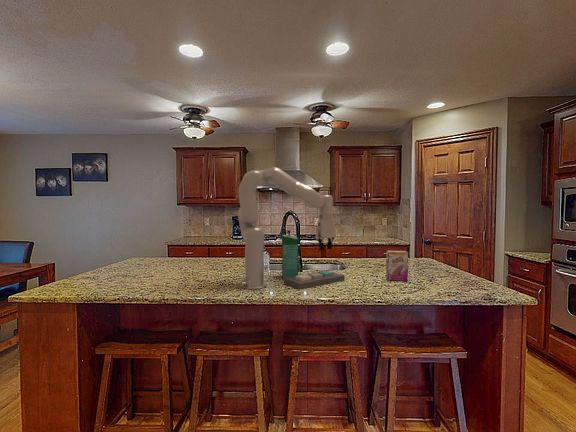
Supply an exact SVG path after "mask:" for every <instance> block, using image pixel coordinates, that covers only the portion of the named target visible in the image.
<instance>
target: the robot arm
mask: <svg viewBox="0 0 576 432" xmlns="http://www.w3.org/2000/svg"><path fill="white" fill-rule="evenodd" d="M269 185H275V186H276V187H277V188H279V189H281V190H282V191H284V192H285V193H286V194H288V195H291V196H293V197H296V198H299V199H301V200H303V201H304V202H303V203H304V205H305V207H307V208H309V209H318V216H317V218H318V221H317V226H316V235H315V236H314V238H315V239H316V241H317V243H318V245H319V246H318V249H319V251H325V246H324V245H325V243H324V240H325V239H327V243H326V244H327V245H326V248H327V250H332V249H333V242H334V240H335V238H336V237H337V235H336V229H335V228H336V227H335V226H336V225H335V221H334V219H333V208H334V206H333V202H334V201H333V200H334V199H333V196H332V195H331V194H321V193H319V192H318V191H316V189H314V188H312V187H310V186H309V185H306V184H304V183H303V182H301V181H299V180H297V179H296V178H294V177H292V176H291V175H290V174H288V173H287V172H285V171H284V170H282V169H281V168H280V167H277V166H272V167H270V168H265V169H261V170H258V169H253V170H250V171H247V172H246V173H245V174H244V175H243V178H242V180H241V181H240V183H239V186H238V200H239V205H240V207H239V209H238V212H237V219H238V223H239V228H240V229H239V230H240V233H241V238H242V239H243V240H244V241H245V246H244V266H245V267H244V272H245V273H244V277H243V278H242V279H241V280H238V281H236V285H237V286H239V285H240V286H241V287H242V288H244V289H247V290H260V289H265V288H267V284H268V283H266V282H264V281H265V280H264V278H265V277H264V275H265V274H264V273H265V272H264V269H265V268H264V250H265V249H264V248H265V247H264V246H265V233H264V230H263V229H262V228H261V227H260V226H258V220H259V218H260V213H259V208H258V203H257V195H256V191H257V188H258V187H262V186H269Z"/></svg>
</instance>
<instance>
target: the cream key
mask: <svg viewBox="0 0 576 432" xmlns="http://www.w3.org/2000/svg"><path fill="white" fill-rule="evenodd" d="M296 279H298V280H301V281H305V280H311V276H308V275H307V274H300V275H299V274H298V276H296Z"/></svg>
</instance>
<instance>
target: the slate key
mask: <svg viewBox="0 0 576 432" xmlns="http://www.w3.org/2000/svg"><path fill="white" fill-rule="evenodd" d="M306 275H308V276H311V278H313V279H316V278H321V277H323V274H319V273H318V272H311V273H309V272H308V273H307V274H306Z"/></svg>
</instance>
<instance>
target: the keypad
mask: <svg viewBox="0 0 576 432" xmlns="http://www.w3.org/2000/svg"><path fill="white" fill-rule="evenodd" d="M328 271H329V270H328ZM329 272H331V271H329ZM345 277H346V276H345V275H344V274H341V273H336V272H333V275H332V276H327V277H324V276H323V277H321V278H316V279H313V278H311V280H305V281H301V280H298V279H296V276H295V277H290V278H284V279H283V285H285V286H287V287H288V286H289V287H291V288H294V289H297V290H299V291H301V290H305V289H311V288H316V287H320V286H324V285H331V284H334V283H340V282H344V281H345V279H346V278H345Z"/></svg>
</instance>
